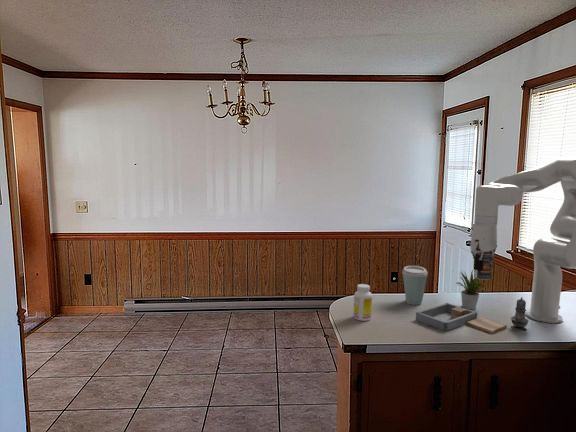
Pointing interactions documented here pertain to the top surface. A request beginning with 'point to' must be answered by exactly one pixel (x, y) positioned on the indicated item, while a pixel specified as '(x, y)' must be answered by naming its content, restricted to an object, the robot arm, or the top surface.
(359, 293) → the supplement bottle
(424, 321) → the bin
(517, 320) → the stone chess piece
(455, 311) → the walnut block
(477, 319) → the pad
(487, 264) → the pill bottle
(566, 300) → the top surface
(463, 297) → the house plant
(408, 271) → the disposable coffee cup
